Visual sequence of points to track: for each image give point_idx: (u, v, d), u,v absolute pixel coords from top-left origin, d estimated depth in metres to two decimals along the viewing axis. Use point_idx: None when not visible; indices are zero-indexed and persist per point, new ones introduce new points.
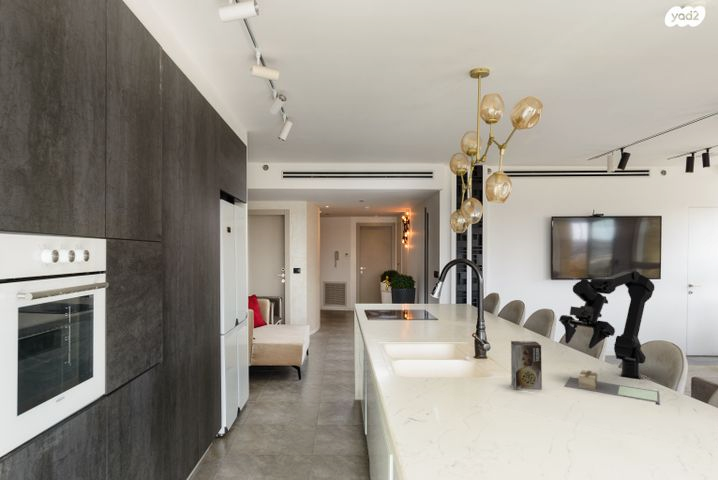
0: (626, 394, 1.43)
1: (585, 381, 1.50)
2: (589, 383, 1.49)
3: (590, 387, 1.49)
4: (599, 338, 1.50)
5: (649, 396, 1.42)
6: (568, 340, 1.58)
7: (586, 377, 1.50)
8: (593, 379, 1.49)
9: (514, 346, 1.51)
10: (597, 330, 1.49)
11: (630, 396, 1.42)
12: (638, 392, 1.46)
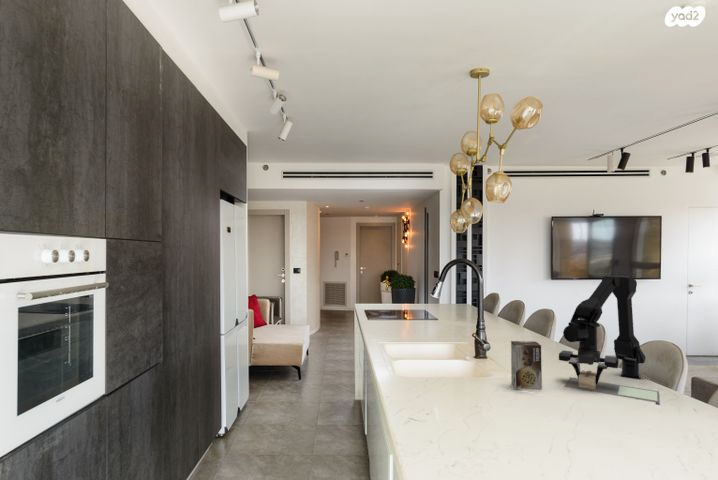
0: (626, 394, 1.43)
1: (585, 381, 1.50)
2: (589, 383, 1.49)
3: (590, 387, 1.49)
4: None
5: (649, 396, 1.42)
6: None
7: (586, 377, 1.50)
8: (593, 379, 1.49)
9: (514, 346, 1.51)
10: (601, 369, 1.49)
11: (630, 396, 1.42)
12: (638, 392, 1.46)
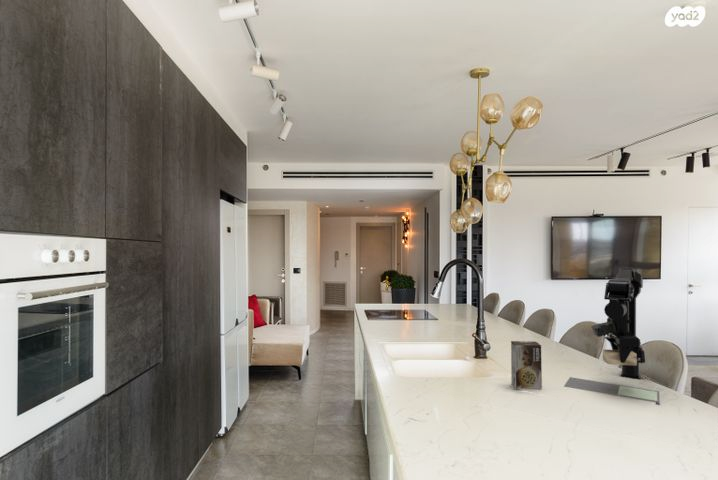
0: (626, 394, 1.43)
1: (604, 355, 1.50)
2: (606, 357, 1.48)
3: (606, 361, 1.48)
4: (627, 350, 1.44)
5: (649, 396, 1.42)
6: None
7: (605, 351, 1.49)
8: (607, 353, 1.47)
9: (514, 346, 1.51)
10: (617, 345, 1.44)
11: (630, 396, 1.42)
12: (638, 392, 1.46)
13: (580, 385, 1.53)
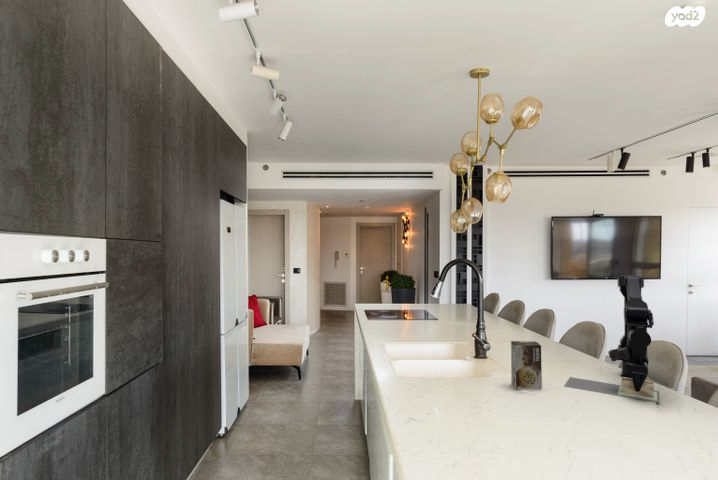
0: (626, 394, 1.43)
1: None
2: None
3: None
4: (640, 378, 1.40)
5: None
6: None
7: (622, 379, 1.48)
8: (621, 381, 1.46)
9: (514, 346, 1.51)
10: (628, 373, 1.41)
11: (630, 396, 1.42)
12: None
13: (580, 385, 1.53)
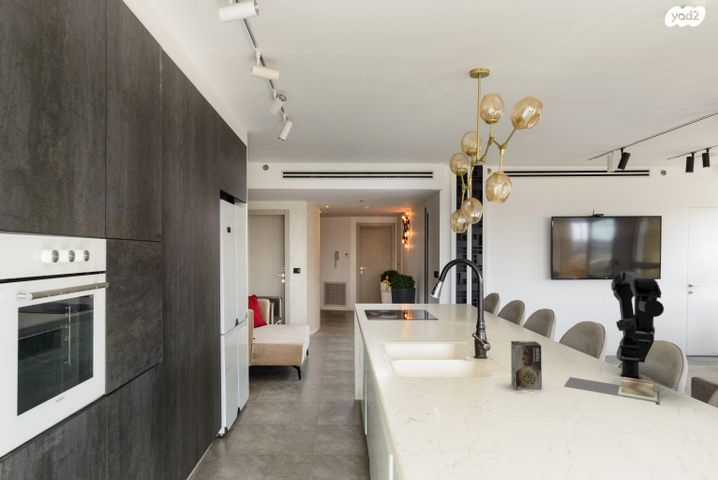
0: (626, 394, 1.43)
1: None
2: None
3: None
4: (646, 346, 1.47)
5: None
6: None
7: (622, 379, 1.48)
8: (621, 381, 1.46)
9: (514, 346, 1.51)
10: (635, 341, 1.48)
11: (630, 396, 1.42)
12: None
13: (580, 385, 1.53)
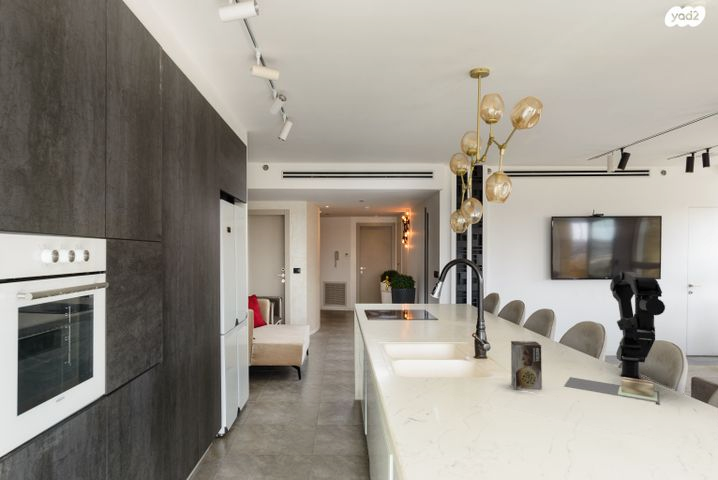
0: (626, 394, 1.43)
1: None
2: None
3: None
4: (648, 345, 1.47)
5: None
6: None
7: (622, 379, 1.48)
8: (621, 381, 1.46)
9: (514, 346, 1.51)
10: (636, 340, 1.49)
11: (630, 396, 1.42)
12: None
13: (580, 385, 1.53)
